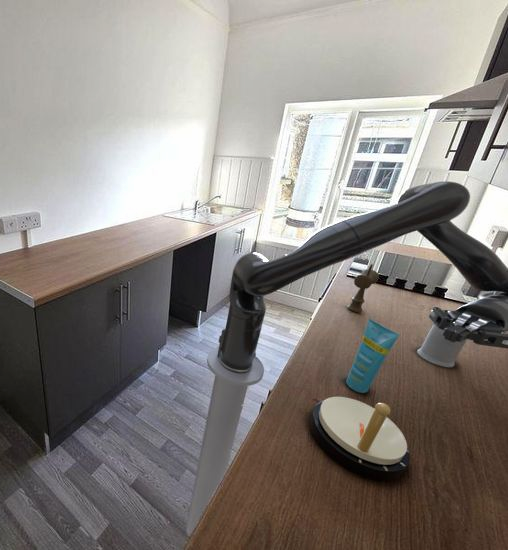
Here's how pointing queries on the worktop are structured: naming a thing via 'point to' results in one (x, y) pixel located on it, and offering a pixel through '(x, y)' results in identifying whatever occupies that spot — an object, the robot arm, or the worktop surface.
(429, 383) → the worktop surface
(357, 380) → the tube
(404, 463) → the dial base
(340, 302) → the worktop surface
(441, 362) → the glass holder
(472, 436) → the worktop surface
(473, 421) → the worktop surface
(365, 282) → the kendama
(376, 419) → the wheel
